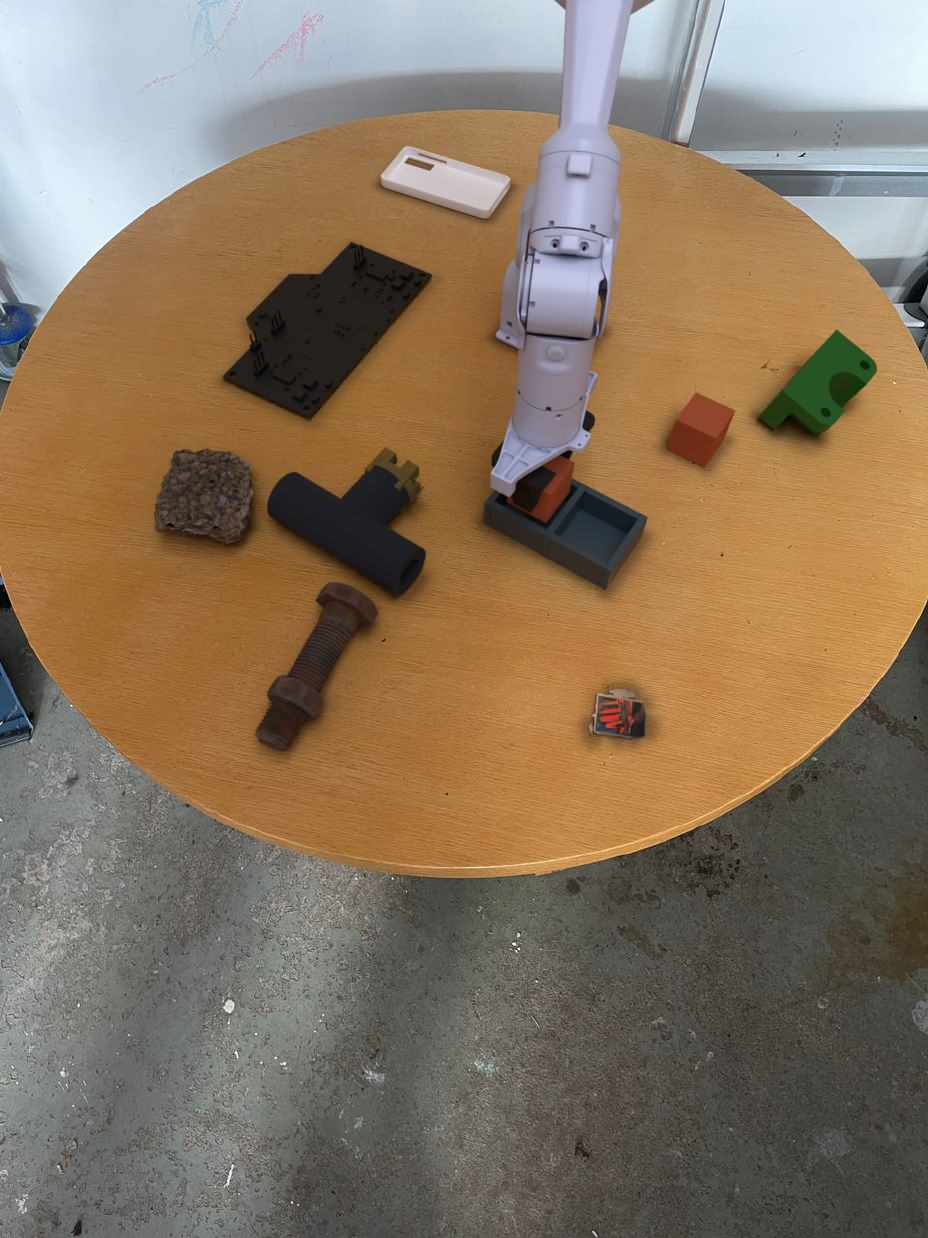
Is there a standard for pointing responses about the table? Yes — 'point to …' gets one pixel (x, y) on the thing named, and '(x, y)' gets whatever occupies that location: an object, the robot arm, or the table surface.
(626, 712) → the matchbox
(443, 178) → the phone case
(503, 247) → the table surface
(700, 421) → the red cube
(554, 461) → the orange cube
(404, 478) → the pipe connector
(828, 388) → the clamp
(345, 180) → the table surface
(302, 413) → the circuit board
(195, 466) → the concrete sample
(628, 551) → the grey rectangular tray
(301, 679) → the bolt
